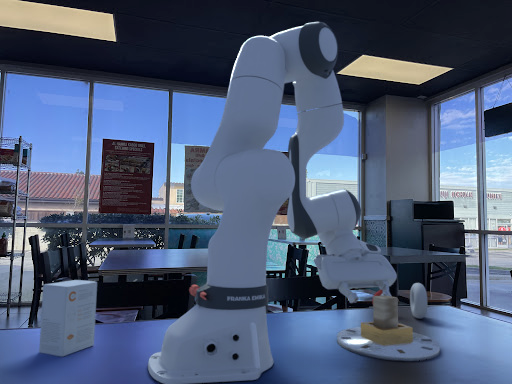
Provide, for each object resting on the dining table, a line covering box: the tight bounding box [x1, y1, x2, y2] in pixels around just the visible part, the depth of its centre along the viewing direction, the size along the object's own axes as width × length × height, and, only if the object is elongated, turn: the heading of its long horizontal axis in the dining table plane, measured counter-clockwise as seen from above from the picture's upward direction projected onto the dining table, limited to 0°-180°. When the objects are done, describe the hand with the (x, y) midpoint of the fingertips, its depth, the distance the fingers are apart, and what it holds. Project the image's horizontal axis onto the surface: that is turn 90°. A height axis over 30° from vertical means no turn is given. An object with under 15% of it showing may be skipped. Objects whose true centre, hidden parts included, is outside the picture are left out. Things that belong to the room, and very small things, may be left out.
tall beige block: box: [372, 295, 399, 329], centre depth 86 cm, size 4×3×9 cm
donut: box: [409, 282, 428, 320], centre depth 112 cm, size 10×4×10 cm, turn 168°
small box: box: [38, 279, 98, 358], centre depth 78 cm, size 8×6×13 cm
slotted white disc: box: [336, 321, 440, 362], centre depth 85 cm, size 21×21×4 cm
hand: (371, 300), depth 91 cm, fingers open, 8 cm apart
